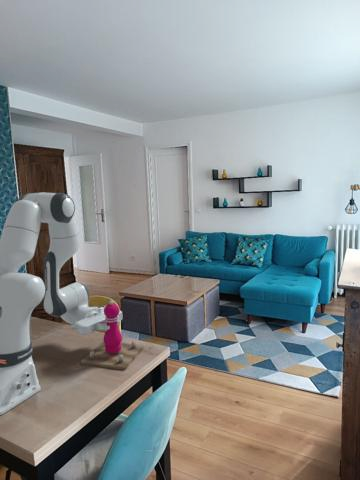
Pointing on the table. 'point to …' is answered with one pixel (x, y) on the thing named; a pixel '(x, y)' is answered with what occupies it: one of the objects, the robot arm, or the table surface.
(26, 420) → the table surface
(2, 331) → the robot arm
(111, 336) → the pepper mill
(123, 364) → the pin base
